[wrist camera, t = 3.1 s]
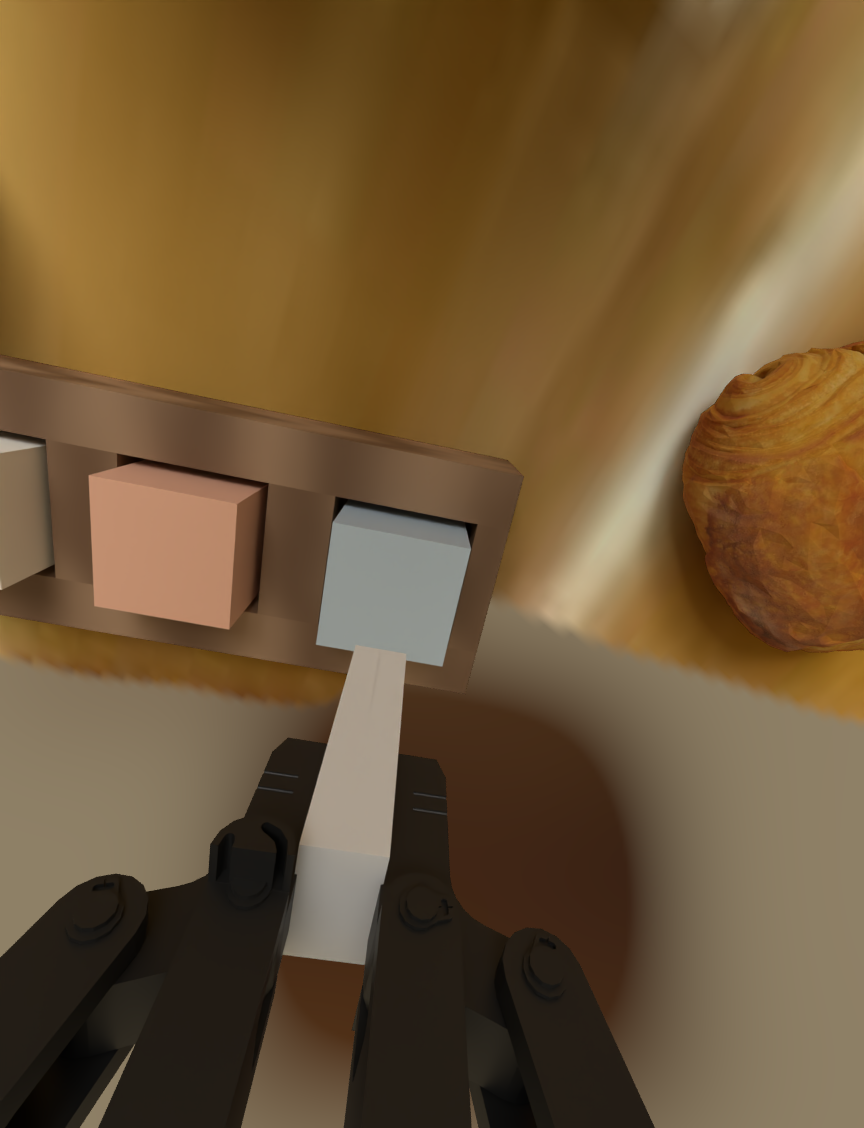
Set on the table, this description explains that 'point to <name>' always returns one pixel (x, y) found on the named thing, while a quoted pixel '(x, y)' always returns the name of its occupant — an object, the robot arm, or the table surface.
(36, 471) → the ivory key
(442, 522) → the slate key
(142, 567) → the terracotta key
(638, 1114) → the robot arm
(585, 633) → the table surface
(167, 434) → the key block
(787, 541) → the pastry
